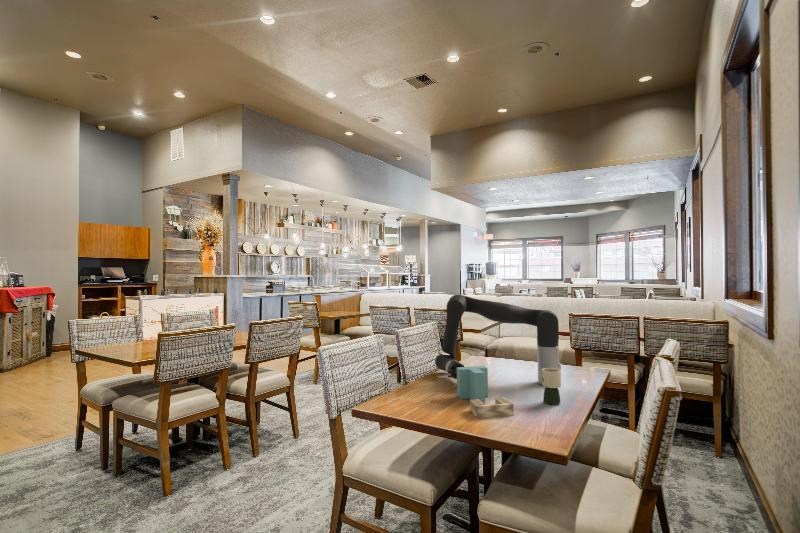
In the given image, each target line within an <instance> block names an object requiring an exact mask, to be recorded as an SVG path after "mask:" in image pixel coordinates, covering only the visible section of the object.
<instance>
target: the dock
mask: <svg viewBox="0 0 800 533" xmlns="http://www.w3.org/2000/svg"><path fill="white" fill-rule="evenodd" d="M514 408H515V406H514V403H512V402H511V401H510V400H508V399H507V398H505V397H503V396H502V397H495V398H494V404H493V403H492V404H491V403H490V404H485V403H483V402H482V401H480V400H479V399H475V400H471V399H470V400H469V411H470V412H471V413H472V414H473V415H474V416H475V417H476V418H478V419H485V417H487V418H495V417H496V418H498V417H499V418H501V417H510V416H511V415H512V416H514V415H515V411H514Z"/></svg>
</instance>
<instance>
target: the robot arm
mask: <svg viewBox="0 0 800 533" xmlns="http://www.w3.org/2000/svg"><path fill="white" fill-rule="evenodd" d="M464 313H473V314H477V315H479V316H482V317H483V318H485V319H488V320H489V321H493V322H498V323H503V324H515V325H516V324H520V325H521V324H524V325H530V326H534V327H536V347H537V348H536V353H537V354H536V355H537V383H538V384H539V385H542V369H543V368H555V369H559V370H561V371H562V366H561V365H562V364H561V363H560V356H559V350H560V349H559V348H560V347H559V340H560V339H559V338H560V337H559V336H560V334H559V333H560V332H559V331H560V330H559V328H560V327H559V318H558V316H557V315H556V313H554V312H553V311H552V310H550V309H533V308H526V307H522V306H518V305H515V304H511V303H504V302H500V301H499V302H498V301H493V300H492V301H491V300H486V299H478V298H474V297H471V296H467V295H463V294H454V295H451V297H450V298H449V299H448V301H447V304H446V320H445V321H446V322H445V328H444V333H443V338H442V343H441V351H442V352H443V353H445V354H439V355H437V356H436V357H435V360H434V363H435V366H436V368H437V369H439V370H441V371H445V372H446V373H447V377H448V378H452V379H454V380H457V367H465V365H464V364H462V363H461V362H460V361H458V360H457V359H456V358H457V357H456V348H457V343H458V337H459V326H460V323H461V319H462V317H463V315H464Z"/></svg>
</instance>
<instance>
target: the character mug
mask: <svg viewBox="0 0 800 533" xmlns="http://www.w3.org/2000/svg"><path fill="white" fill-rule="evenodd" d="M541 385H542V386H543V387H544V390H543V397H542V398H543V402H544V403H545V404H550V405H553V404H556V405H557V404H561V396H560V390H559V388H561V387H562V369H561V370H559V369H555V368H543V369H542V384H541Z"/></svg>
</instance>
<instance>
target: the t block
mask: <svg viewBox="0 0 800 533" xmlns="http://www.w3.org/2000/svg"><path fill="white" fill-rule="evenodd" d="M488 375H489V374H488V367H487V366H485V365H475V366H464V367H457V379H456V393H457V394H456V396H457V397H458V399H459V400H464V399H470V400H475V399H479V400H480V401H482V402H483V403H484V404H485V403H486V398H489V381H488V380H489V379H488V377H489V376H488Z"/></svg>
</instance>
